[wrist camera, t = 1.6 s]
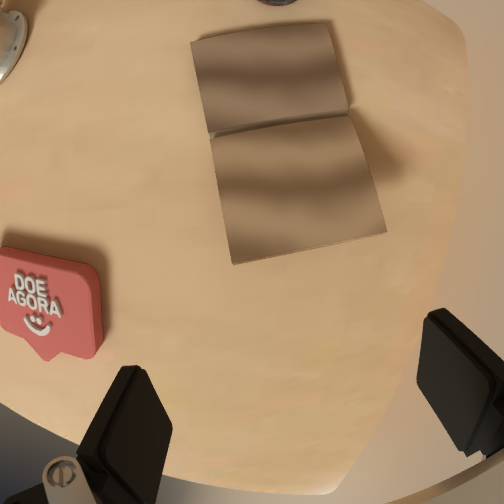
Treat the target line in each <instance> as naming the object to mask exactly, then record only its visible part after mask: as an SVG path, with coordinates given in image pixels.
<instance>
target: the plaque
mask: <svg viewBox="0 0 504 504" xmlns="http://www.w3.org/2000/svg"><path fill="white" fill-rule="evenodd" d="M0 325H1V326H2V328H3V329H4V330H5V331H7V332H9V333H12V334H14V335H16V336H19V337H21V338H24V339H25V340H26V341H27V342H28V343H29V344H30V346H31V347H32V348H33V349H34V350H35V351H36V352H37V354H38V355H39V356H40V357H41V358H42V359H43V360H45V361H50V360H51V359H53V358H54V357H55V356H56V355H58V354H59V353H60V352H63V353H66V354H70V355H73V356H76V357H79V358H83V359H91V358H93V357H94V355H95V354H96V352H97V351H98V349H99V348H100V346H101V345H102V343H103V339H104V338H103V326H102V312H101V293H100V279H99V276H98V274H97V272H96V271H95V270H94V269H93V268H92V267H91V266H90V265H88V264H84V263H79V262H74V261H69V260H64V259H60V258H55V257H50V256H46V255H41V254H37V253H32V252H28V251H24V250H19V249H15V248H11V247H7V246H5V247H2V248H0Z"/></svg>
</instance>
